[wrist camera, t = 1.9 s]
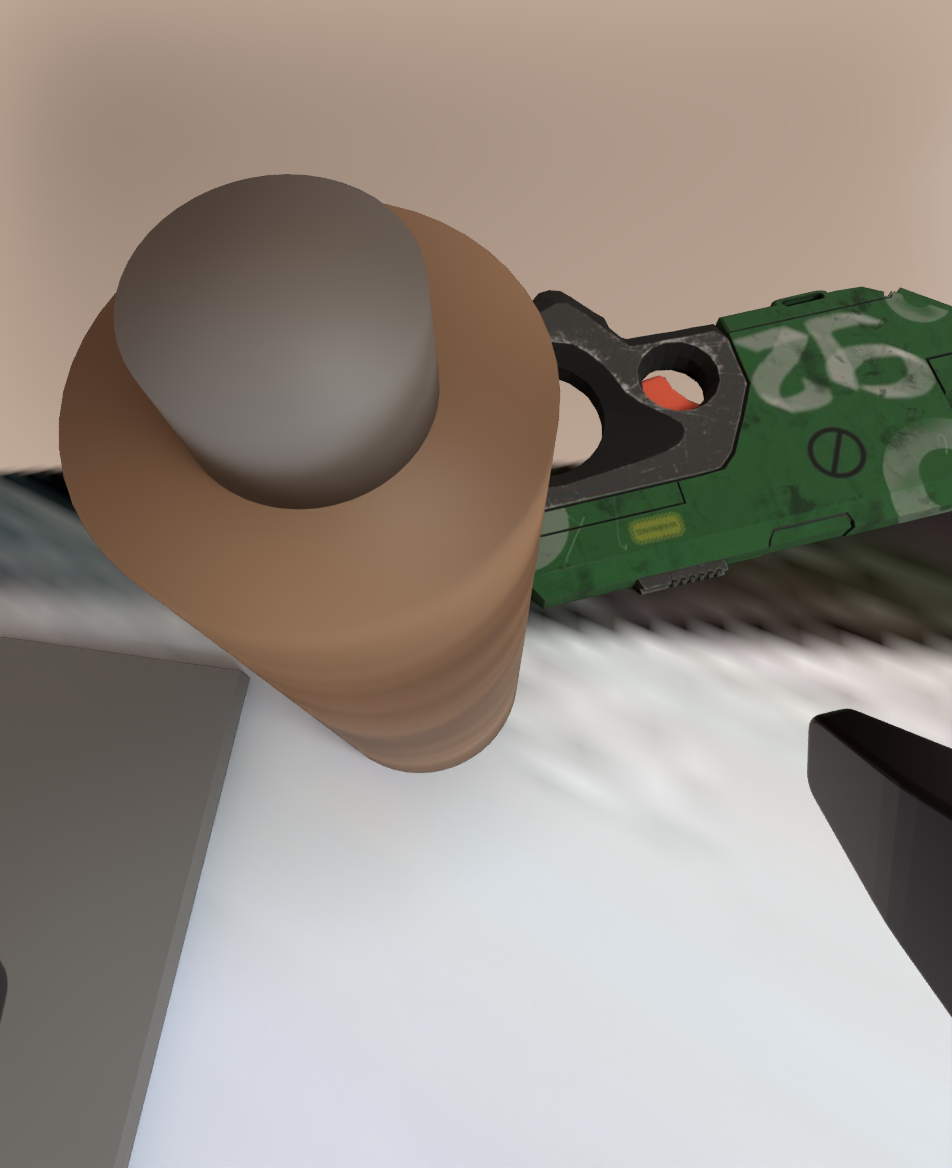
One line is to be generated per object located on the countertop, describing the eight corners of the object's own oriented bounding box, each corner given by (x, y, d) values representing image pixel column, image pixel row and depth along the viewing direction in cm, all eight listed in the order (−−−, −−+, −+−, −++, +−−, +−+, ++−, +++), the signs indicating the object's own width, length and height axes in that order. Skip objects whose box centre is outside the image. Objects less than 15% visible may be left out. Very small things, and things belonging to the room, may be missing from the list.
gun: (908, 204, 23) (1067, 482, 20) (885, 239, 25) (1031, 506, 22) (399, 312, 23) (479, 623, 19) (405, 343, 24) (480, 638, 21)
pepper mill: (503, 786, 19) (537, 622, 5) (308, 757, 19) (-136, 531, 6) (528, 598, 20) (600, 102, 7) (348, 574, 21) (78, 55, 7)
